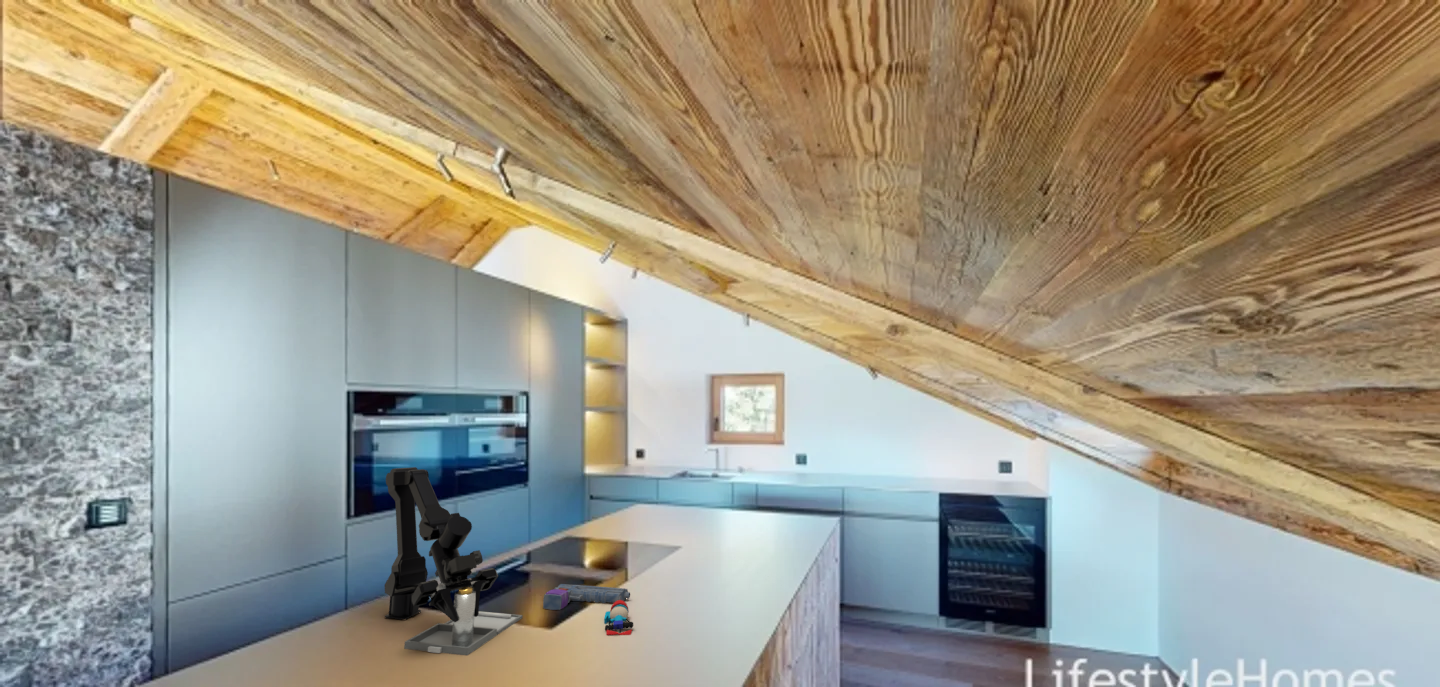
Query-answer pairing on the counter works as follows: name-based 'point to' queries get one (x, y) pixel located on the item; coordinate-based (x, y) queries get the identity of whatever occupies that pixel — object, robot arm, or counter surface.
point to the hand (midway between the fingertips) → (466, 618)
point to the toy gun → (582, 595)
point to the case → (448, 640)
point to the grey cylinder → (464, 617)
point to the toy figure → (617, 619)
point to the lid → (494, 620)
